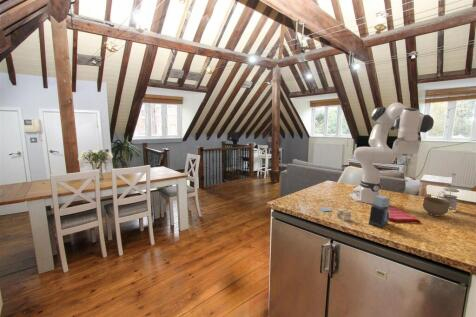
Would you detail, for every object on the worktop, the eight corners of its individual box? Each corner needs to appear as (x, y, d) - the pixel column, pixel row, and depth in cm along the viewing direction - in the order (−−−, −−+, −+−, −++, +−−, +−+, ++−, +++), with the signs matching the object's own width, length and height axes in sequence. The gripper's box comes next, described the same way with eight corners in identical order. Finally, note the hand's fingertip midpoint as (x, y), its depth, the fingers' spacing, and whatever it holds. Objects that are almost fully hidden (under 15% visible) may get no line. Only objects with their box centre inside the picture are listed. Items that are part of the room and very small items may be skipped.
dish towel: (390, 222, 134) (390, 218, 134) (370, 208, 158) (370, 204, 157) (421, 224, 133) (422, 220, 133) (396, 209, 157) (397, 205, 156)
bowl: (437, 220, 140) (440, 203, 138) (416, 212, 152) (418, 197, 150) (453, 218, 143) (455, 202, 141) (431, 210, 155) (433, 196, 154)
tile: (318, 208, 152) (318, 207, 152) (327, 208, 153) (327, 207, 153) (322, 211, 147) (322, 210, 146) (331, 211, 147) (332, 210, 147)
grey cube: (373, 204, 131) (374, 196, 130) (380, 203, 133) (381, 195, 132) (381, 207, 126) (382, 198, 126) (388, 206, 128) (389, 198, 127)
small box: (381, 228, 125) (383, 209, 124) (368, 224, 130) (370, 205, 129) (388, 223, 132) (391, 205, 130) (376, 219, 137) (378, 202, 135)
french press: (461, 213, 153) (468, 175, 149) (440, 211, 155) (447, 174, 151) (451, 208, 162) (457, 172, 158) (431, 206, 164) (437, 171, 161)
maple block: (336, 217, 138) (337, 209, 137) (343, 216, 140) (344, 208, 139) (343, 221, 134) (344, 212, 133) (350, 219, 135) (351, 211, 135)
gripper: (402, 137, 125) (399, 163, 127) (423, 137, 134) (419, 161, 136) (390, 136, 130) (387, 161, 132) (410, 137, 139) (407, 160, 142)
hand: (403, 161), depth 134 cm, fingers open, 8 cm apart
